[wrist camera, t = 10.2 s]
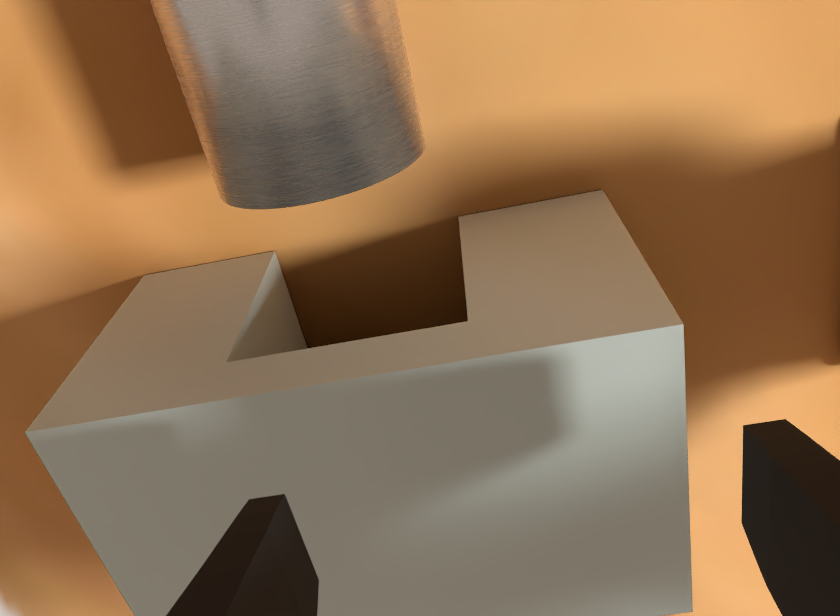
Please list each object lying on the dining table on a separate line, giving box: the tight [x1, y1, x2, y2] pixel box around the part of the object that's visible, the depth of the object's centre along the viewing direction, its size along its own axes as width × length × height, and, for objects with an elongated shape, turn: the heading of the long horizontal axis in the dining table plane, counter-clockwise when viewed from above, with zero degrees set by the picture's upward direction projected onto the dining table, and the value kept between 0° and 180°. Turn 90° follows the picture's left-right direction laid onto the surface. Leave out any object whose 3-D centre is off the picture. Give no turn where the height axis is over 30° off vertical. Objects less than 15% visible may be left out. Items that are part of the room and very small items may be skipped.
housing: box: [25, 190, 693, 616], centre depth 19 cm, size 13×8×7 cm, turn 102°
